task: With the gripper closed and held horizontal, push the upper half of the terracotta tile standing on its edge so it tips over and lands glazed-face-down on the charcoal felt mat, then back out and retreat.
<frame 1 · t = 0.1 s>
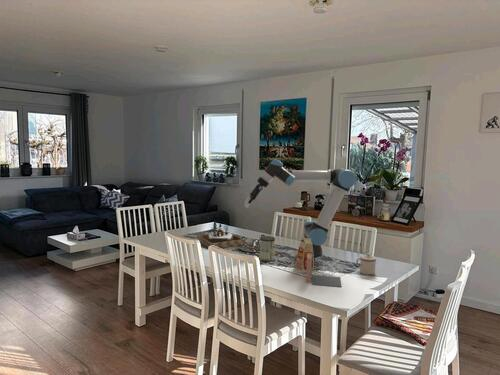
hand: (245, 205, 248), 36 cm above the table, tool tilted 35°, fingers open, 13 cm apart
tile: (308, 279, 213), on the table
diorama tray: (220, 242, 291), on the table
coffee can: (267, 258, 252), on the table
mat: (326, 281, 211), on the table
miniature diorama: (220, 243, 291), resting in diorama tray
teacup with lid: (365, 272, 229), on the table
milk carton: (304, 268, 233), on the table
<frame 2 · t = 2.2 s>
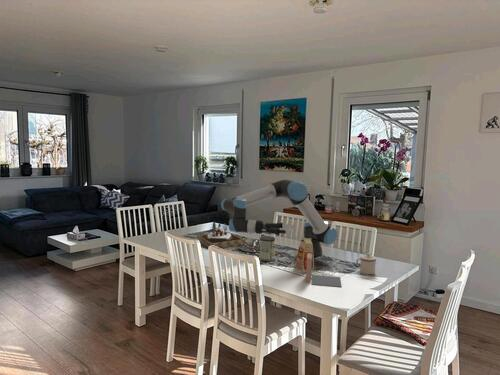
hand: (292, 229, 212), 28 cm above the table, tool horizontal, fingers open, 13 cm apart
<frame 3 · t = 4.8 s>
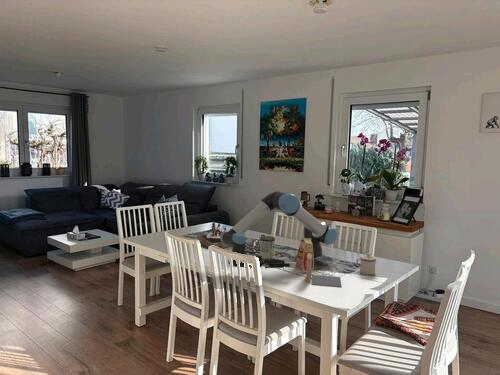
hand: (295, 265, 213), 8 cm above the table, tool horizontal, fingers closed
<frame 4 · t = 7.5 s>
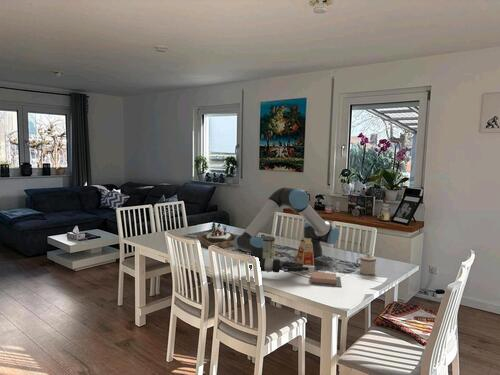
hand: (314, 268, 211), 7 cm above the table, tool horizontal, fingers closed
tile: (311, 276, 213), point 2 cm above the table, tilted 90°, touching mat
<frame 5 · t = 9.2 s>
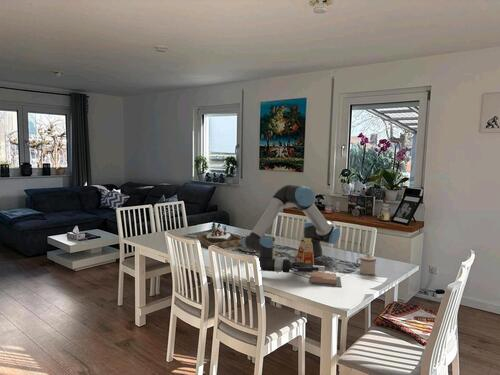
hand: (324, 269, 211), 7 cm above the table, tool horizontal, fingers closed
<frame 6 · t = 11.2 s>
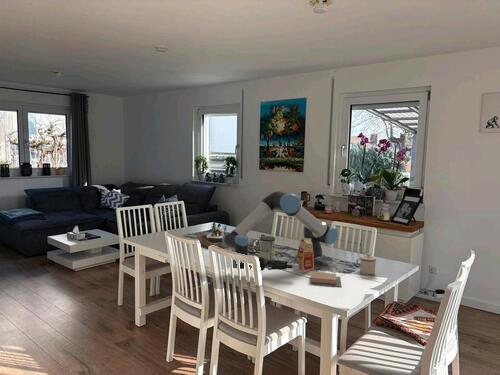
hand: (298, 266, 213), 7 cm above the table, tool horizontal, fingers closed
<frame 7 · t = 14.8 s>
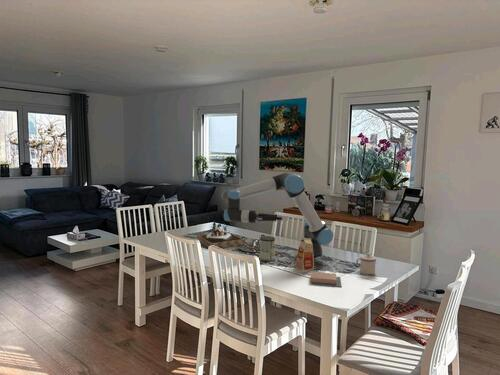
hand: (287, 218, 225), 32 cm above the table, tool horizontal, fingers closed
at the end: tile tilted 90°; tile point 1.8 cm above the table; tile 8.6 cm from the mat (horizontally) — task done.
